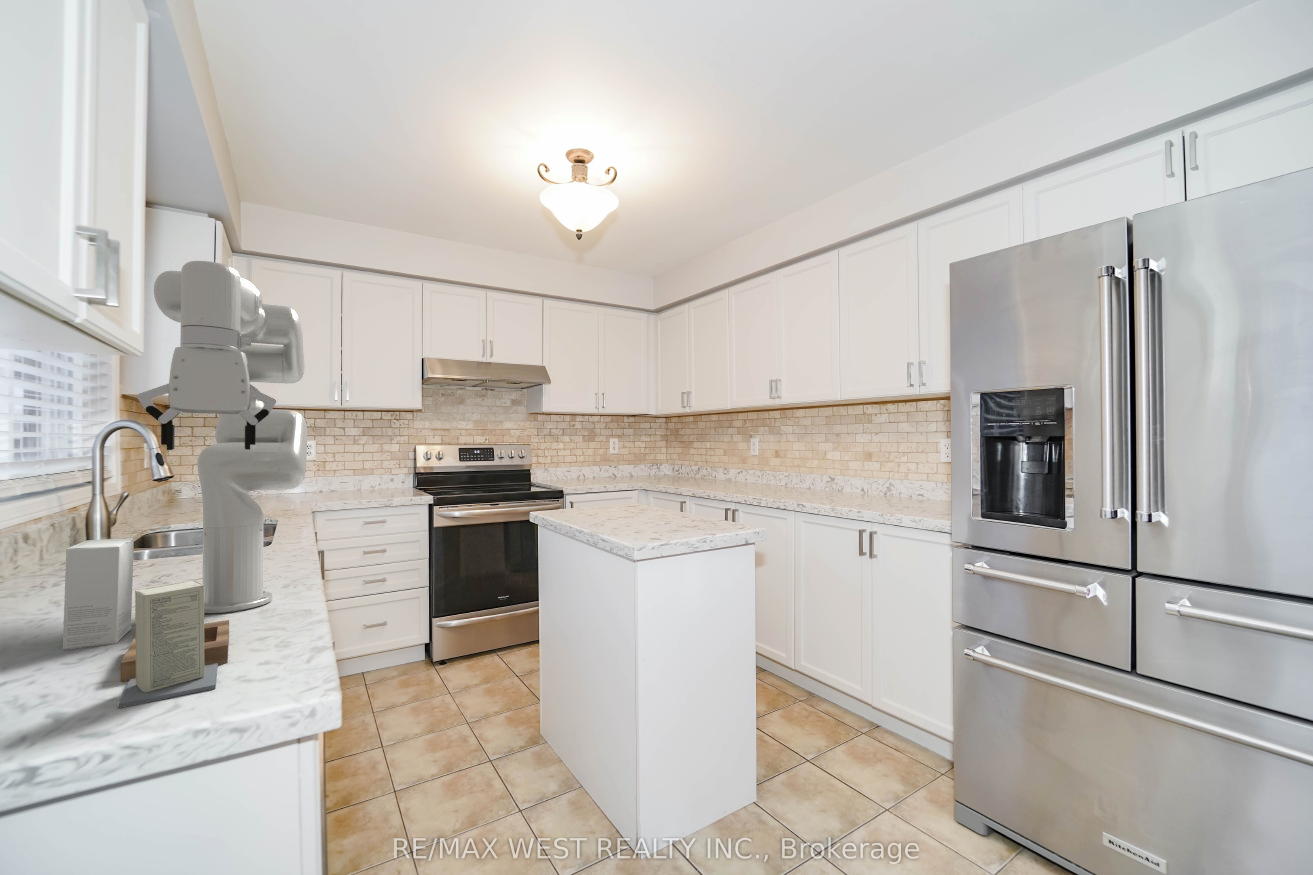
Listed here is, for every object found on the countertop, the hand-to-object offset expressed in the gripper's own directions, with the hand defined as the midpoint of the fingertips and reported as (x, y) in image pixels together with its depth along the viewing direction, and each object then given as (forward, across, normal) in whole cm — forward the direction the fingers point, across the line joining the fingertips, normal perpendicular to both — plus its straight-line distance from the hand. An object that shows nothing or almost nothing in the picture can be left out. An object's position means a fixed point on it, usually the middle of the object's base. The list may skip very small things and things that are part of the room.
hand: (210, 449), depth 90 cm
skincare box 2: (+30, +3, +18) cm, 35 cm away
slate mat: (+30, +3, +18) cm, 36 cm away
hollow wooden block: (+30, +3, +6) cm, 31 cm away
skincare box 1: (+31, +14, -12) cm, 36 cm away
